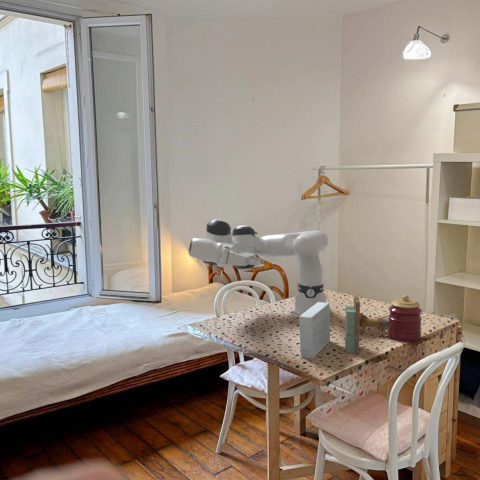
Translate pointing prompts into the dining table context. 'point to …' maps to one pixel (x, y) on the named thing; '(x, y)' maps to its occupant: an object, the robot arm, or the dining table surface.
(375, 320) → the lion figurine
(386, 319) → the packaged product
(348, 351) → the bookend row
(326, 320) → the skincare box
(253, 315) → the dining table surface
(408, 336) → the canister
